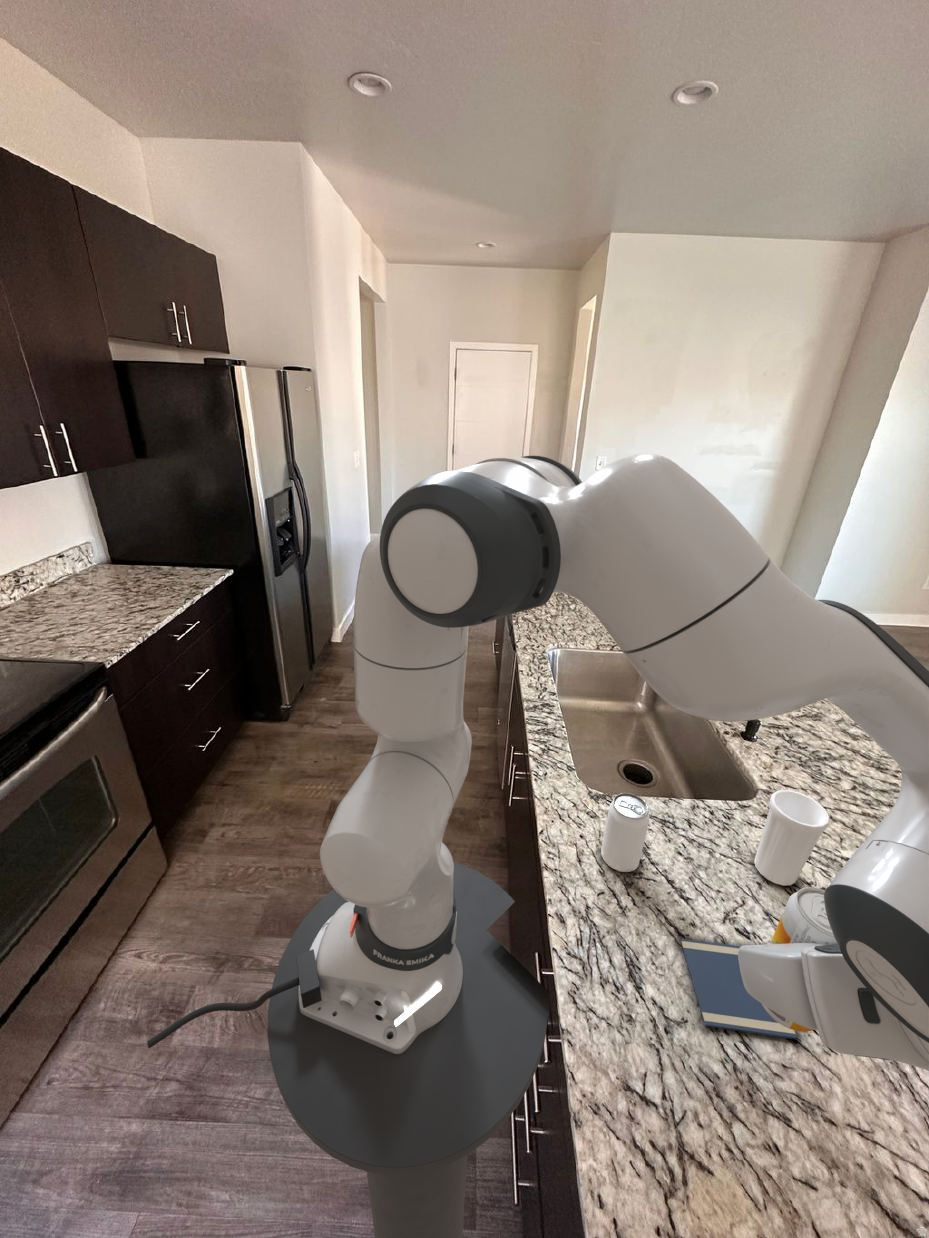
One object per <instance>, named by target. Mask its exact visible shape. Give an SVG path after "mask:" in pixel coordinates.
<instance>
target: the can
mask: <svg viewBox="0 0 929 1238" xmlns="http://www.w3.org/2000/svg"><path fill="white" fill-rule="evenodd" d="M649 809H650V808H649V806H648V804H647V802H646V801H645V800H644V799H643V798H642V797H640V796H638V795H636V794H633V793H630V792H620V793H618V794H616V795H615V796H614V798H613V799H612V801H611V803H610V804H609V807H608V811H607V816H606V820H605V821H606V822H605V826H604V832H603V837H602V843H601V849H600V854H601V857H602V859H603V862H605V863H606V865H607V866H609V867H610V868H611V869H613V870H615V871H617V872H620V873H628V872H633V871H635V870H636V869H637V868H638V867H639V865H640V861H641V857H642V853H643V849H644V845H645V841H646V836H647V832H648V828H649V824H650V819H651V817H650V810H649Z"/></svg>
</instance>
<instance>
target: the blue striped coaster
mask: <svg viewBox="0 0 929 1238" xmlns="http://www.w3.org/2000/svg"><path fill="white" fill-rule="evenodd" d="M680 943H681V948H682V950H683V951H682V952H683V954H684V958H685V961H686V965H687V968H688V972H689V976H690V980H691V982H692V985H693V989H694V993H695V996H696V1000H697V1003H698V1007H699V1011H700V1013H701V1018H702V1021H703V1025H704V1027H708V1028H714V1029H721V1030H729V1031H735V1032H741V1033H746V1034H747V1033H749V1034H756V1035H761V1036H769V1037H775V1038H782V1039H788V1040H796V1041H797V1040H798V1036H797V1034H796V1032H795V1031H796V1030H792V1029H789V1028H787V1027H785V1026H783V1025H781V1024H780V1023H778V1022H777V1021H775V1020H774V1019H773V1018H772V1017H771V1016H770V1015H769V1014H768V1013H767V1011H766V1010H765V1009H764V1007H763V1005H762V1004H761V1003H760V1002H759V1001H757V1000H756V999H754V998H753V997H752V996H751V995H750V994H749V993H748V992H747V991H746V989H745V987H744V984H743V980H742V976H741V972H740V967H739V961H738V950H739V948H740V947H741V946H742V945H741V946H740V945H735V944H726V943H719V942H710V941H704V940H696V939H688V938H680Z"/></svg>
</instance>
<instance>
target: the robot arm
mask: <svg viewBox="0 0 929 1238" xmlns="http://www.w3.org/2000/svg"><path fill="white" fill-rule="evenodd" d="M381 525H382V526H381V530H380V533H378V534H377V535H376V536H374V537H373V538H372V539H371V540H370V541H369V542H368V543H367V544H366V545H365V548H364V549H363V552H362V555H361V559H360V564H359V569H358V573H357V574H358V575H357V581H356V586H355V587H356V588H355V596H354V606H353V623H352V624H353V626H352V627H353V631H352V632H353V633H352V634H353V635H352V637H353V640H352V641H353V674H354V675H353V677H354V678H353V679H354V706H355V710H356V713H357V716H358V717H359V719H360V721H361V722H362V723H363V724H364V725H365V726H366V727H368V728H369V729H370V730H371V731H373V732H375V733H376V734H377V740H376V743H375V747H374V750H373V752H372V755H371V756H370V759H369V760H368V762H367V764H366V765H365V767H364V769H363V770H362V772H361V773H360V775H358V777H357V778H356V779H355V781H354V783H353V784H352V786H351V787H350V788H349V790H348V791H347V792H346V794H345V795H344V797H343V798H342V799H341V801H340V802H339V804H338V805H337V808H336V809H335V812H334V814H333V816H332V819H331V821H330V823H329V825H328V828H327V830H326V833H325V834H324V838H323V840H322V842H321V844H320V845H321V846H320V849H319V861H320V866H321V868H322V871H323V874H324V876H325V878H326V881H328V883H329V885H330V886H331V888H332V890H333V889H334V890H335V891H336V892H337V893H338V894H339V895H340V896H342V897H343V898H344V899H346V900H347V901H349V902H347V903H345V904H343V905H342V906H341V907H340V908H339V909H338V910H337V911H336V912H335V914H334V915H333V916H332V917H331V918H330V919H329V920H328V921H327V922H326V923H325V924H324V925H323V927H322V928H321V930H320V931H319V933H318V934H317V936H316V938H315V940H314V942H313V944H312V946H311V948H310V950H309V951H307V952H305V953H302V954H300V955H297V956H296V962H297V969H298V978H296V979H293V980H291V981H288V982H286V983H284V984H281V985H279V986H277V987H274V988H272V987H271V988H270V989H269V990H267V991H265V992H264V993H263V994H262V995H261V996H260V997H259V998H258V999H256V1000H254V1001H250V1002H216V1003H211V1004H208V1005H204V1006H202V1007H199V1008H197V1009H195V1010H192V1011H191V1012H189V1013H188V1014H186V1015H184V1016H183V1017H181V1018H179V1019H178V1020H176V1021H174V1022H173V1023H172V1024H171V1025H169V1026H168V1027H167V1028H165V1029H164V1030H162V1031H161V1032H159V1033H157V1034H156V1035H154V1036H153V1037H151V1038H149V1039H148V1040H146V1043H147V1048H148V1049H151V1048H152V1047H154V1046H155V1045H157V1044H158V1043H160V1042H162V1041H163V1040H164V1039H166V1038H168V1037H169V1036H170V1035H172V1034H174V1033H175V1032H177V1030H179V1029H180V1028H182V1027H183V1026H185V1025H186V1024H188V1023H189V1022H191V1021H193V1020H195V1019H197V1018H199V1017H202V1016H205V1015H206V1014H210V1013H213V1012H221V1011H222V1012H223V1011H224V1012H227V1011H228V1012H248V1011H254V1010H256V1009H258V1008H260V1007H261V1006H262V1005H264V1003H265V1002H266V1001H267V1000H270V998H271V997H272V996H274V995H277V994H279V993H281V992H283V991H286V990H288V989H291V988H293V987H295V986H298V985H299V1008H300V1012H301V1013H302V1014H303V1015H305V1016H307V1017H310V1018H312V1019H314V1020H316V1021H319V1022H321V1023H323V1024H326V1025H328V1026H331V1027H333V1028H335V1029H338V1030H340V1031H342V1032H345V1033H347V1034H349V1035H352V1036H354V1037H356V1038H359V1039H361V1040H363V1041H366V1042H368V1043H370V1044H373V1045H375V1046H377V1047H380V1048H382V1049H384V1050H387V1051H389V1052H391V1053H394V1054H401V1053H403V1052H404V1051H405V1050H406V1049H407V1048H408V1047H409V1046H410V1045H411V1044H412V1042H413V1041H414V1040H415V1039H416V1037H417V1036H418V1035H419V1034H420V1033H422V1032H423V1031H425V1030H426V1029H428V1028H430V1027H432V1026H434V1025H435V1024H437V1023H438V1022H439V1021H440V1020H442V1019H443V1018H444V1017H445V1016H446V1015H447V1014H448V1012H449V1011H450V1010H451V1009H452V1007H453V1006H454V1004H455V1002H456V1000H457V998H458V996H459V993H460V990H461V986H462V980H463V966H462V960H461V957H460V954H459V951H458V949H457V947H456V944H455V939H456V928H457V911H456V903H455V897H454V894H453V874H454V863H453V862H454V859H453V856H452V853H451V851H450V849H449V848H448V847H447V845H446V844H445V843H444V842H443V839H444V836H445V833H446V829H447V825H448V823H449V820H450V817H451V814H452V812H453V809H454V807H455V805H456V802H457V799H458V797H459V795H460V792H461V790H462V788H463V785H464V783H465V780H466V778H467V776H468V772H469V769H470V762H471V754H472V746H473V737H472V734H471V731H470V728H469V727H468V725H467V723H466V721H465V718H464V697H465V684H466V670H467V658H468V643H469V629H470V627H471V626H478V625H481V624H485V623H489V622H493V621H497V620H499V619H503V618H505V617H508V616H511V615H515V614H518V613H521V612H525V611H529V610H532V609H536V608H539V607H543V606H544V605H545V604H547V603H548V602H549V601H550V599H551V598H552V596H553V594H554V593H559V594H564V595H568V596H571V597H572V598H575V599H576V600H577V601H579V602H580V603H582V604H583V605H584V606H585V607H586V608H588V609H589V611H590V612H591V613H592V614H593V615H594V616H595V617H596V619H597V620H598V621H599V623H601V625H602V626H603V627H604V629H605V630H606V631H607V633H608V634H609V636H610V637H611V638H612V640H613V641H614V642H615V644H616V645H617V646H618V648H619V650H620V651H621V652H622V654H623V655H624V656H625V657H626V659H627V660H628V661H629V663H630V664H631V666H632V667H633V669H635V672H637V673H638V675H639V676H640V677H641V678H642V680H643V681H644V682H645V683H646V684H647V685H648V686H649V688H650V689H651V690H652V691H654V693H655V694H656V695H657V696H659V697H660V698H661V699H662V700H663V701H664V702H665V703H666V704H668V705H669V706H671V707H672V708H674V709H676V710H678V711H679V712H682V713H684V714H687V715H690V716H692V717H694V718H695V717H696V718H699V719H702V720H708V721H714V722H744V721H745V722H746V721H754V720H761V719H768V718H773V717H777V716H782V715H785V714H788V713H791V712H794V711H797V710H799V709H802V708H804V707H807V706H810V705H813V704H814V703H817V702H821V701H824V700H828V701H830V702H832V703H833V704H835V705H836V706H837V707H838V708H839V709H840V710H841V711H842V712H843V713H844V714H846V715H847V717H848V718H850V719H851V720H852V722H853V723H855V724H856V725H857V726H858V727H859V728H860V729H861V730H862V731H863V732H864V733H865V734H866V735H867V736H868V737H869V738H870V739H871V740H872V741H873V742H874V743H876V745H878V746H879V748H880V749H882V750H883V751H884V752H885V753H886V754H887V755H888V756H889V757H890V758H891V759H892V760H893V761H894V762H895V763H896V764H897V765H898V767H899V769H900V773H901V782H900V783H901V784H900V790H899V792H898V796H897V799H896V801H895V803H894V805H893V806H892V807H891V808H890V810H889V811H888V812H887V813H886V815H885V816H884V817H883V818H882V820H881V821H880V822H879V823H878V825H876V827H875V828H874V829H873V830H872V832H871V833H870V834H869V835H868V837H867V838H866V839H865V840H864V842H862V843H861V844H860V845H859V846H858V847H857V849H856V850H855V851H854V852H853V854H852V855H851V856H850V857H849V859H848V860H847V861H846V862H845V864H843V866H842V868H841V869H840V870H838V872H837V874H836V875H835V876H834V878H833V879H832V881H831V882H830V884H829V886H827V887H826V888H825V889H824V890H825V892H824V904H825V909H826V914H827V917H828V921H829V924H830V927H831V930H832V932H833V935H834V937H835V939H836V942H837V943H836V944H830V945H829V944H820V943H787V944H781V943H778V942H777V941H771V940H770V941H769V940H768V941H761V944H745V945H741V947H740V948H739V950H738V961H739V967H740V972H741V976H742V980H743V984H744V987H745V989H746V991H747V992H748V993H749V994H750V995H751V996H752V997H753V998H754V999H756V1000H757V1001H759V1002H760V1003H762V1004H763V1005H765V1006H766V1007H768V1008H770V1009H771V1010H773V1011H774V1012H776V1013H778V1014H779V1015H781V1016H783V1017H784V1018H786V1019H788V1020H790V1021H792V1022H794V1023H796V1024H798V1025H801V1026H803V1027H806V1028H809V1029H813V1030H812V1031H816V1032H817V1031H818V1034H819V1037H820V1041H821V1042H822V1043H823V1045H824V1046H826V1047H827V1048H829V1049H831V1050H832V1051H834V1052H837V1053H839V1054H843V1055H849V1056H856V1057H862V1058H870V1059H871V1058H872V1059H878V1060H886V1061H893V1062H899V1063H903V1064H906V1065H910V1066H913V1067H916V1068H920V1069H922V1070H924V1071H925V1070H926V1071H928V1072H929V670H928V669H927V668H926V667H925V666H924V665H923V664H922V663H921V662H920V661H919V660H918V659H917V658H916V657H915V656H914V655H912V653H911V652H909V651H908V650H907V649H906V648H905V647H904V645H903V646H902V644H901V643H900V642H899V641H897V639H895V638H894V637H893V636H892V635H891V634H890V633H888V632H887V631H886V630H885V629H883V628H882V627H881V626H880V625H878V623H876V622H875V621H874V620H872V619H871V618H869V617H868V616H866V615H865V614H864V613H862V612H861V611H859V610H857V609H855V608H853V607H851V606H849V605H847V604H844V603H842V602H838V601H835V600H830V599H829V600H828V599H816V598H815V597H813V596H811V595H809V594H808V593H807V592H806V591H804V590H802V589H801V588H800V587H799V586H798V585H796V584H795V583H793V582H792V581H791V580H790V578H788V576H786V575H785V573H783V571H782V570H781V569H780V568H779V567H778V566H777V565H776V563H775V562H774V561H773V560H772V558H771V557H769V555H768V553H767V552H766V551H765V549H763V547H762V546H761V545H760V543H759V542H758V541H757V539H755V537H754V536H753V535H752V534H751V533H750V532H749V530H748V529H747V528H746V527H745V526H744V525H743V524H742V523H741V522H740V520H739V519H738V518H737V517H736V516H735V515H734V514H733V513H732V512H731V511H730V510H729V509H728V508H727V507H726V506H725V505H724V504H723V503H722V502H721V501H720V499H718V498H717V497H716V496H715V495H714V494H713V493H712V492H711V491H709V490H708V489H707V488H706V487H705V486H704V485H703V484H702V483H701V482H700V481H698V480H697V479H696V478H695V477H694V476H693V475H691V474H690V473H688V471H686V470H685V469H684V468H683V467H681V466H680V465H679V464H678V463H676V462H675V461H674V460H672V459H670V458H668V457H666V456H663V455H659V454H655V453H640V454H635V455H629V456H626V457H623V458H619V459H617V460H615V461H613V462H611V463H608V464H607V465H605V466H602V467H601V468H600V469H598V470H596V471H595V472H593V473H592V474H591V475H589V476H588V477H587V478H586V479H584V481H582V479H581V478H580V477H579V476H578V475H577V474H576V473H575V471H573V470H572V469H571V468H570V467H568V466H567V465H565V464H563V463H561V462H560V461H557V460H555V459H553V458H549V457H546V456H542V455H524V456H502V457H493V458H488V459H484V460H480V461H478V462H476V463H474V464H471V465H469V466H466V467H462V468H460V469H456V470H447V471H441V472H438V473H436V474H433V475H430V476H428V477H426V478H425V479H422V480H421V481H419V482H418V483H416V484H413V486H411V487H410V488H409V489H407V490H406V491H405V492H403V493H402V494H401V495H400V496H399V497H398V498H397V499H396V500H395V502H393V504H392V505H391V506H390V508H389V509H388V512H387V513H386V515H385V517H384V520H383V523H382V524H381ZM335 1015H336V1016H335ZM388 1035H393V1038H392V1039H387V1036H388Z"/></svg>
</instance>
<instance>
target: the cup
mask: <svg viewBox="0 0 929 1238" xmlns="http://www.w3.org/2000/svg"><path fill="white" fill-rule="evenodd" d="M830 820H831V819H830V816H829V814H828V811H827V810H826V809H825V807H823V806H822V805H821V803H820V802H819V801H817V800H815V799H814V798H812V797H810V796H809V795H806V794H804V793H802V792H799V791H795V790H789V789H781V790H780V789H779V790H777V791H775V792H773V793H772V794H771V795H770V798H769V809H768V812H767V816H766V820H765V823H764V826H763V829H762V832H761V836H760V840H759V843H758V847H757V849H756V853H755V855H754V859H753V862H754V866H755V869H756V870H757V871H758V872H759V874H760V875H762V876H763V877H764V878H765V879H767V880H768V881H770V882H772V883H774V884H776V885H780V886H792V885H794V884H795V883H796V882H797V880H798V878H799V876H800V874H801V873H802V871H803V869H804V867H805V865H806V863H807V861H808V860H809V858H810V856H811V854H812V852H813V850H814V848H815V846H816V845H817V843H818V841H819V839H820V838H821V836H822V834H823V832H824V831H826V829H827V828H828V826H829V825H830Z"/></svg>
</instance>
